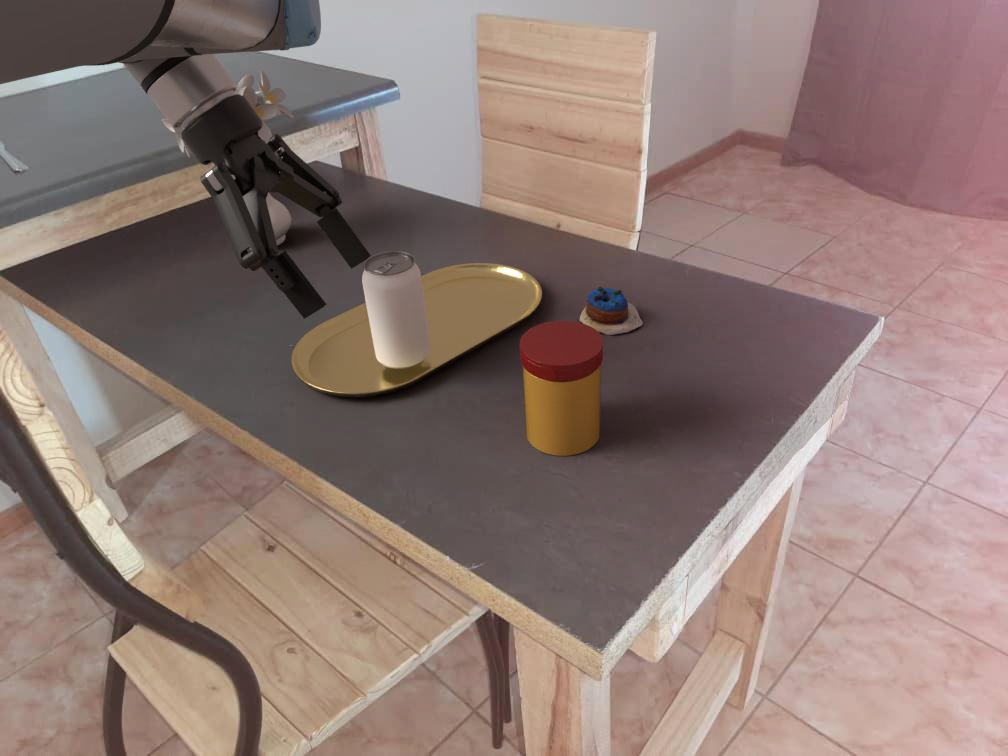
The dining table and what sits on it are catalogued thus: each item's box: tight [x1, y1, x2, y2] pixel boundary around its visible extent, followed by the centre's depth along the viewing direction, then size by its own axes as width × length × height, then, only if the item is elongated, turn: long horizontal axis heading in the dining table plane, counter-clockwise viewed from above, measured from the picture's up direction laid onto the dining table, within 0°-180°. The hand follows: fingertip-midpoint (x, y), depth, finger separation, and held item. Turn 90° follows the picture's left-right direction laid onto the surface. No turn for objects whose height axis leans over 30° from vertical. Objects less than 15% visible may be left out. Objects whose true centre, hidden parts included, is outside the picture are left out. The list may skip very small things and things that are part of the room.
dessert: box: [579, 286, 644, 336], centre depth 97 cm, size 8×7×6 cm
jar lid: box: [519, 320, 604, 381], centre depth 74 cm, size 8×8×2 cm
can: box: [361, 250, 431, 369], centre depth 87 cm, size 6×6×12 cm
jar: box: [522, 364, 602, 457], centre depth 77 cm, size 8×8×10 cm
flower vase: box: [156, 70, 295, 247], centre depth 116 cm, size 13×18×25 cm
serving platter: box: [291, 262, 543, 398], centre depth 98 cm, size 19×35×2 cm, turn 135°
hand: (340, 285), depth 84 cm, fingers open, 13 cm apart
